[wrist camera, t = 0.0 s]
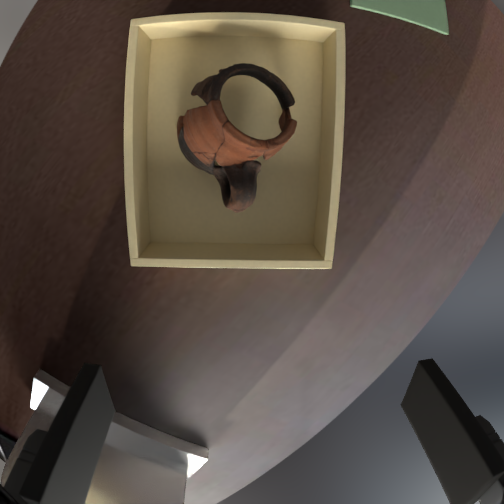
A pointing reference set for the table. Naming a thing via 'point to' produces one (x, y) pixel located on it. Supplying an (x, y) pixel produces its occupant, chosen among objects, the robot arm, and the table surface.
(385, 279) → the table surface
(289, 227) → the cream yellow tray
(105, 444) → the award
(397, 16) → the mat
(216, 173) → the pottery mug
